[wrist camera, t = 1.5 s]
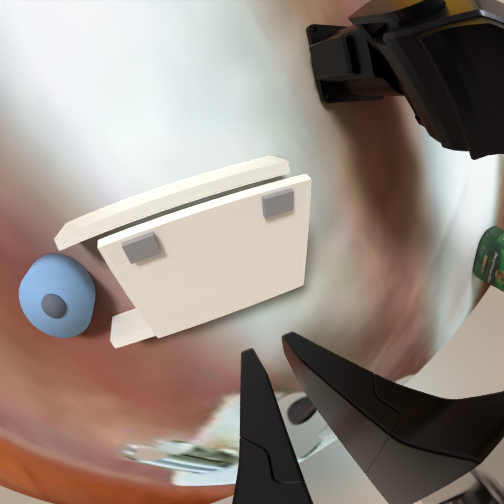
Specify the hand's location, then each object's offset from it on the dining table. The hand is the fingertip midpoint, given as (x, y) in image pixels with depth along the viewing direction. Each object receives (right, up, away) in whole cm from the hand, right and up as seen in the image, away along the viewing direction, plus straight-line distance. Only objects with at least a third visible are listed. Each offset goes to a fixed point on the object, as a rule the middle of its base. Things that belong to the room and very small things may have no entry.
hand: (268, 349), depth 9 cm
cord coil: (-15, 0, +9) cm, 18 cm away
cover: (-2, +3, +7) cm, 8 cm away
